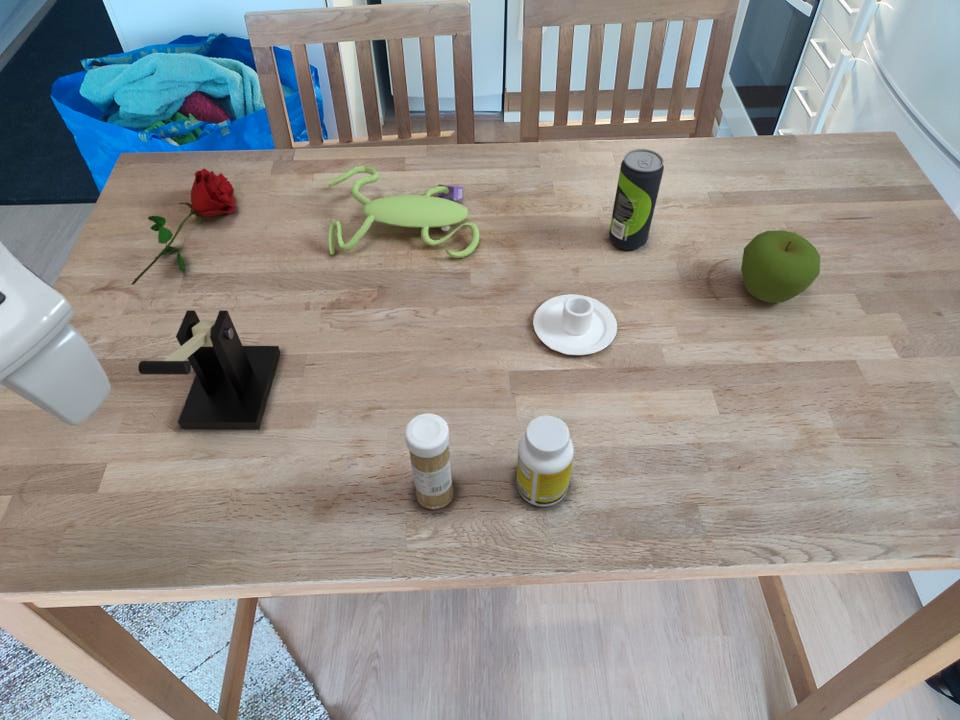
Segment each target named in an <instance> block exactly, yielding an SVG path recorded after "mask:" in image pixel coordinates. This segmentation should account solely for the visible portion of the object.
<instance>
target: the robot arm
mask: <svg viewBox="0 0 960 720" xmlns="http://www.w3.org/2000/svg"><path fill="white" fill-rule="evenodd" d="M75 315H76V312H75V310H74V308H73V306H72V304H71V303H70V302H69V300H68V299H67V298H66V297H65V296H64V295H63V294H61V292H59V291H57V290H56V289H55V288H54V286H52V285H50V283H48V281H47V282H46V281H45V279H42V278H41V277H40V276H39V275H38V274H36V273H35V272H34V271H33V270H31V269H30V268H29V267H28V266H27V265H25V264H23V263H22V262H21V261H20V260H19V259H17V258H16V257H15V255H13V254H12V253H11V252H10V250H9V249H8V248H7V247H6V246H5V244H3V242H2V241H1V240H0V385H1V386H3V387H5V388H7V389H8V390H10V391H12V392H13V393H15V394H16V395H17V396H20V397H21V398H23V399H25V400H27V401H28V402H30V403H32V404H33V405H34V406H37V407H38V408H40V409H41V410H43V411H44V412H46V413H48V414H50V415H52V416H53V417H55V418H56V419H58V420H59V421H61V422H62V423H64V424H65V425H69V426H77V425H80V424H82V423H83V422H85V421H86V420H87V419H89V417H91V416H92V415H93V414H94V413H95V412H96V411H97V410H99V408H100V407H101V406H102V405H103V404H104V403H105V401H106V400H107V399H108V398H109V396H110V394H111V393H112V384H111V382H110V379H109V378H108V375H107V374H106V372H105V370H104V367H103V366H102V364H101V362H100V360H99V358H98V357H97V355H96V354H95V352H94V351H93V349H92V347H91V346H90V344H89V343H88V341H87V340H86V339H85V338H84V336H83V335H82V333H80V332H79V330H77V329H76V327H74V325H73V324H71V323H70V321H71V320H72V319H73V318H74V317H75Z"/></svg>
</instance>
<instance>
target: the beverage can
mask: <svg viewBox="0 0 960 720" xmlns="http://www.w3.org/2000/svg"><path fill="white" fill-rule="evenodd" d="M664 166H665V165H664V158H663V156H662V155H661V154H660V153H658V152H656V151H654V150H652V149H647V148H635V149H632V150H629V151H627V152H626V153H625V154H624V156H623V160H622V161H621V163H620V168H619V174H618V180H617V186H616V191H615V197H614V202H613V208H612V212H611V213H612V214H611V218H610V219H611V220H610V224H609V232H608V238H609V240H610V242H611V243H612V244H613V245H614V246H615V247H617V248H619V249H621V250H623V251H624V250H625V251H634V250H638V249H640V248H641V247H643V246H644V245H646V244H647V241H648V239H649V234H650V229H651V226H652V222H653V217H654V212H655V210H656V205H657V201H658V195H659V191H660V187H661V182H662V179H663V174H664V170H665V167H664Z"/></svg>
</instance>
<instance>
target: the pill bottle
mask: <svg viewBox="0 0 960 720" xmlns="http://www.w3.org/2000/svg"><path fill="white" fill-rule="evenodd" d="M570 433H571V432H570V429H569V427H568V425H567V424H566V423H565V422H564V421H563V420H562V419H560V418H559V417H556V416H555V415H546V414H545V415H539V416H537V417H535V418H533V419H532V420H531V421H530V422H529V423H528V424H527V426H526V429H525V432H524V433H523V434H522V436H521V437H520V439H519V441H518V445H517V463H516V488H517V491H518V494H519V495H520V496H521V498H523V500H524V501H526V502H527V503H529V504H531V505H534V506H537V507H544V508H545V507H551V506H553V505H556V504H558V503H559V502H561V501H562V500H563V499H564V497H565V496H566V495H567V493H568V489H569V485H570V481H571V473H572V468H573V461H574V455H575V447H574V443H573V441H572V439H571V437H570V435H571V434H570Z"/></svg>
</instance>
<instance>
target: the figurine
mask: <svg viewBox="0 0 960 720" xmlns="http://www.w3.org/2000/svg"><path fill="white" fill-rule="evenodd" d="M357 174H368V175H369V176H365V177H361V178H360V179H357V180H356V181H355V182H353V184H352V186H351V191H350V194H351V195H352V197H353V198H354V199H355V200H356V201H358V202H359V203H360V204H362V205H363V208H362V211H363V213H364V215H365V216H366V218H365V220H364V221H363V223H362V224H361V226H360V227H359V229H358V230H356V232H355V233H354V235H353V236H352V237H351V239H350V240H349V241H348V242H347V243H345V242H344V240H343V229H342V225H341V221H340V220H338V219H332V220H331V221H330V225H329V228H328V247H329V254H330V255H331V256H333V255H335V253H336V249H335V233H336V229H337V236H336V237H337V238H336V239H337V245H338V247H339V248H340V250H341V251H342V252H343V251H344V252H345V251H351V250H352V249H353V248H355V247H356V246H357V245H358V243H359V242H360V241H361V239H362V238H363V237H364V236H365V234H366V233H368V232H369V231H368V230H369V229H370V228H371V226H372V224H373V223H374V222H379V223H382V224H384V225H385V224H386V225H389V226H395V227H402V228H411V229H418V228H419V229H420V230H421V231H420V237H421V239H422V241H423V243H425V244H426V245H428V246H438V245H440V244H442V243H443V242H445V241H447V240H448V239H449V238H451V237H452V236H453V235H454V234H455V233H456V232H457V231H458V230H459V229H460V228H461V227H468V228H469V229H470V230H471V235H472V238H471V241H470V243H469V244H468V246H467V247H465V249H463V250H460V251H452V250H450V249H449V248H448V247H446V246H445V247H444V252H445V253H446V254H447V255H448V256H449V257H451V258H453V259H454V258H455V259H461V258H465V257H468V256H470V255H471V254H472V253H473V252H474V251H475V250H476V248H477V247H478V245H479V242H480V236H481V235H480V234H481V233H480V229H479V227H478V226H477V225H476V224H475V222H470V221H467V222H463V221H465V220H467V219H468V217H469V215H470V212H469V210H468V209H467V207H466V206H464V205H462V204H461V203H459V202H457V201H463V199H464V186H460V185H459V186H457V185H447V184H445V185H444V184H438V185H437V186H435V187H434V186H433V187H431V188H428V189H426V191H425V192H424V194H423V195H419V194H399V195H389V196H383V197H379V198H375V199H372V200H371V199H369V198H367V197H366V196H364V195H363V194H361V193H360V192H359V190H360V188H361V187H363V186H365V185H368V184H372V183H375V182H377V181H378V180H379V179H380V173H379V172H378V170H376V169H375V168H373V167H370V166H366V165H358V166H354V167H351V168H350V169H349V170H348V171H346V172H344V173H342V174H341V175H339V176H336V177H334V178H330V179H328V181H327V184H328V188H331V187H334V186H337V185H338V184H341V183H342V182H345V181H346V180H349V179H350V178H351V177H353V176H355V175H357ZM436 194H437V196H434V195H436ZM461 222H463V223H462V224H460V225H459V226H458V227H456V228H455V229H453V230H452V231H451V232H450V233H447V234H446V235H445V236H443V237H441V238H440V239H436V240H434V239H432V238H430V235H429V230H430V229H431V228H433V229H434V228H440V229H441V230H442V231H443V232H448V231H449V230H450V229H451V226H452V225H456V224H459V223H461Z"/></svg>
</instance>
